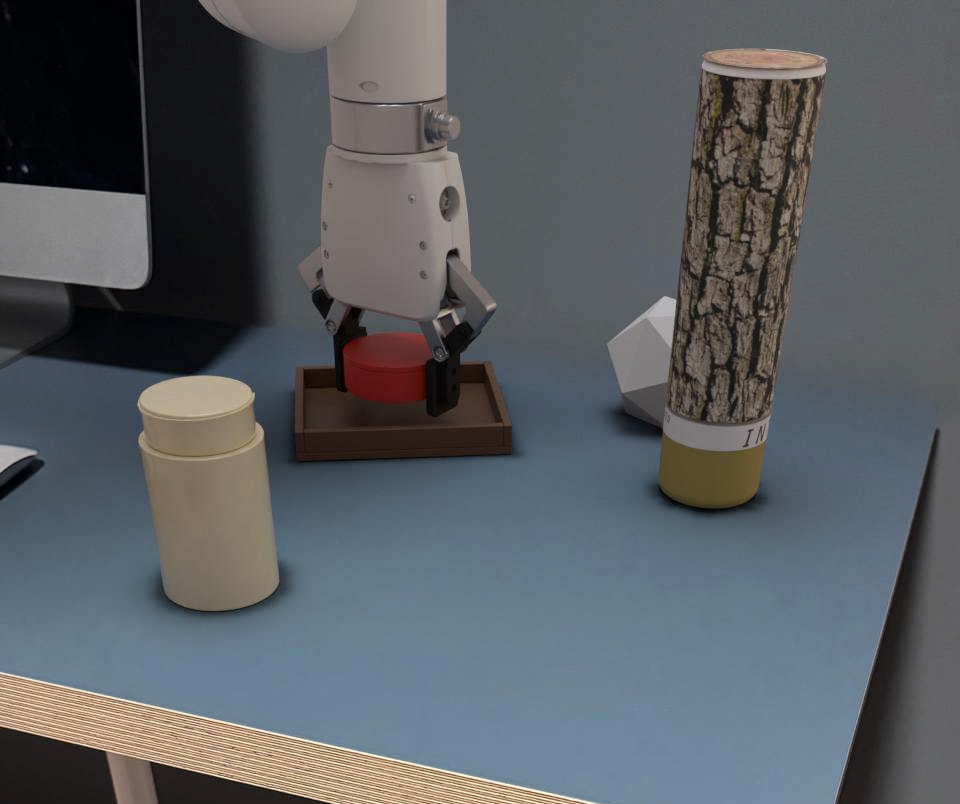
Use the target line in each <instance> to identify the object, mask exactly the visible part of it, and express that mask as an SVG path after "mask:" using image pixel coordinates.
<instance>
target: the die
mask: <svg viewBox="0 0 960 804" xmlns="http://www.w3.org/2000/svg"><path fill="white" fill-rule="evenodd" d="M676 300H677V298H676V299H675V298H672V297H669V296H666V295H664V296H663V297H661V298H660V299H659V300H658V301H657V302H655V303H654V304H653V305H651V306H650V308H647V310H646V311H644V312H643V313H641V314H640V315H639V316H638V317H637V318H636V319H635V320H634V321H632V322H631V323H630V324H629V325H627V326H626V327H625V328H624V329H622V331H620V332H619V333H618V334H617V335H615V336H614V337H613V338H612V339H611V340H609V341H608V342H607V343H606V345H607V350H608V353H609V356H610V361H611V364H612V367H613V372H614V375H615V378H616V382H617V385H618V389H619V393H620V398H621V401H622V404H623V408H624V411H625V414H626V415H627V414H628V415H630V416H632V417H635V418H636V419H638V420H642V421H644V422H646V423H648V424H651V425H653V426H656V427H658V428H660V429H663V423H664V413H665V404H666V395H667V385H668V376H669V366H670V357H671V347H672V338H673V328H674V319H675V310H676Z"/></svg>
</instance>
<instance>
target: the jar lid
mask: <svg viewBox="0 0 960 804" xmlns="http://www.w3.org/2000/svg"><path fill="white" fill-rule="evenodd" d="M343 356H344V375H345V386H346V388H347V390H348V391H349V392H351V393H352V394H354V395H356V396H358V397H361V398H364V399H368V400H372V401H378V402H390V403H405V402H414V401H421V400H425V399H426V369H425V365H426V362H427V360H429V359H431V358H433V355H432V353H431V350H430V348H429V346H428V343H427V341H426V339H425V336H424V334H419V333H412V332H382V333H381V332H380V333H372V334H367V336H363V337H360V338H357V339H355V340H352V341H350V342H349V343H347V344H346V345H345V347H344V349H343Z"/></svg>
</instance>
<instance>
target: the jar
mask: <svg viewBox="0 0 960 804" xmlns="http://www.w3.org/2000/svg"><path fill="white" fill-rule="evenodd" d="M255 400H256V392H253V391H252V388H250V386H249V385H248V384H247V383H244V382H243V381H240V380H238V379H234V378H230V377H225V376H218V375H189V376H181V377H175V378H171V379H166V380H163V381H160V382H157V383H155V384H153V385H150V386H149V387H147V388H145V389H144V390H143V391H142V392H141V393H140V396H139V398H138V401H137V405H136V406H137V409H138V411H139V412H140V415H141V420H142V427H143V430H142V431H141V433H140V434H139V436H138V441H137V442H138V448H139V453H140V459H141V465H142V466H141V467H142V471H143V477H144V482H145V483H144V484H145V486H146V487H145V489H146V493H147V500H148V506H149V511H150V512H149V513H150V516H151V523H152V530H153V535H154V540H155V546H156V552H157V558H158V564H159V570H160V574H161V582H162V587H163V592H164V593H165V595H166V597H167V598H168V599H169V600H171V601H172V603H175V604H177V605H178V606H181V607H184V608H186V609H191V610H195V611H204V612H223V611H225V612H226V611H233V610H238V609H243V608H246V607H249V606H252V605H256V604H258V603H260V602H263V601H264V600H265V599H266V598H268V597H270V596H271V595H273V594H274V592H275V591H276V589H278V586H279V584H280V580H281V579H280V571H279V561H278V552H277V542H276V532H275V524H274V522H275V521H274V514H273V505H272V494H271V486H270V478H269V476H270V475H269V466H268V457H267V447H266V437H265V430H264V428H263V426H261V424H260V423H258V421H256V413H255V405H254V402H255Z"/></svg>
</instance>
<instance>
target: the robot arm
mask: <svg viewBox="0 0 960 804" xmlns="http://www.w3.org/2000/svg"><path fill="white" fill-rule="evenodd" d="M198 2H199V4H200V5H201V6H202V7H203V8H204V10H205V11H207V12H208V14H210V15H211V17H213V18H214V19H215V20H216V21H218V22H219V23H221V24H222V25H223V26H225V27H227V28H228V29H231V30H232V31H235V32H236V33H239V34H240V35H243V36H246V37H248V38H250V39H252V40H255V41H258V42H259V43H262V44H263V45H266V46H268V47H269V48H272V49H274V50H276V51H279V52H282V53H288V54H297V55H298V54H307V53H311V52H315V51H319V50H320V49H322V48H324V47H326V61H327V78H328V79H327V80H328V92H329V93H328V95H329V97H328V98H329V111H330V112H329V113H330V131H331V144H330V145H328V146H327V147H326V150H325V158H324V164H323V172H322V184H321V185H322V186H321V201H320V202H321V203H320V209H321V210H320V245H319V246H318V247H316V248H315V249H314V250H312V252H311V253H310V254H309V255H308V256H307V257H306V258H304V259H303V260H302V261H301V262H300V263H299V264H298V266H297V271H298V275H299V276H300V278H301V280H302V282H303V284H304V285H305V287H306V288H307V291H308V292H309V294H311V301H312V303H313V305H314V307H315V308H316V310H317V311H318V312H319V314H320V315H321V317H322V318H323V321H324V329H325V332H326V333H327V334H328V335H330V336H332V340H333V341H332V342H333V355H334V356H333V359H334V365H335V371H336V388H337V390H338V391H340V392H344V393H345V392H347V391H348V390H347V388H346V386H345V375H344V356H343V349H344V347H345V345H346V344H347V343H349V342H350V341H352V340H355V339H357V338H360V337H363V336H367V335H368V332H367V327H366V326H363V325H360V324H361V321H362V319H363V317H364V315H365V312H366V311H369V312H373V313H378V314H381V315H386V316H390V317H395V318H400V319H403V320H409V321H414V322H417V323H418V325H419V327H420V330H421V333H422V335H424V336H425V339H426V341H427V343H428V346H429V348H430V350H431V353H432V355H433V358H431V359H429V360H427V362H426V365H425V369H426V412H427V413H428V415H429V416H432V417H438V416H439V415H441V414H443V413H445V412H447V411H449V410H451V409H453V408H455V407H456V406H457V404H458V400H459V396H460V362H461V354H462V353H464V352H466V351H467V350H468V348H469V346H470V345H471V344H472V343H473V342H474V341H475V340H476V339H477V338H478V337H479V336H480V335H481V334H482V331H483V328H484V327H485V326H486V325H487V324H488V323H489V321H490V319H491V318H492V317H493V315H494V314H495V313H496V310H497V308H498V307H497V302H496V300H495V299H494V298H493V297H492V295H491V294H490V293H489V292H488V291H487V290H486V288H485V287H484V286H483V285H482V284H481V282H480V281H479V280H478V278H476V277H475V275H474V274H473V273H472V258H471V257H472V256H471V238H470V237H471V236H470V223H469V214H468V205H467V196H466V189H465V184H464V178H463V173H462V169H461V164H460V159H459V155H458V153H457V152H454V151H449V150H448V144H449V140H451V141H456V140H457V139H459V136H460V134H461V121H460V118H459V117H458V116H457V115H452V114H450V113H449V108H448V106H449V105H448V103H449V102H448V101H449V100H448V95H447V91H448V90H447V84H448V83H447V82H448V81H447V69H448V68H447V64H448V63H447V60H448V59H447V54H448V53H447V52H448V51H447V50H448V49H447V0H198ZM464 307H465V314H464V315H463V317H462V319H461V321H460V319H459V317H458V315H457V312H456V309H457V310H458V309H461V308H464ZM441 327H442V328H441ZM442 329H443V330H442ZM444 334H445V335H444Z"/></svg>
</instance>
